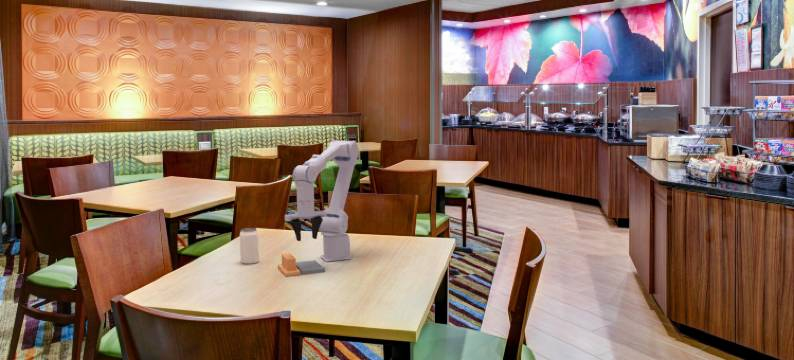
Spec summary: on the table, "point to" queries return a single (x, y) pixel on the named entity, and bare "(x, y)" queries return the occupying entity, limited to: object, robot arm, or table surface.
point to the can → (249, 246)
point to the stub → (288, 265)
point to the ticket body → (309, 267)
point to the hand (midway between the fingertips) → (306, 239)
